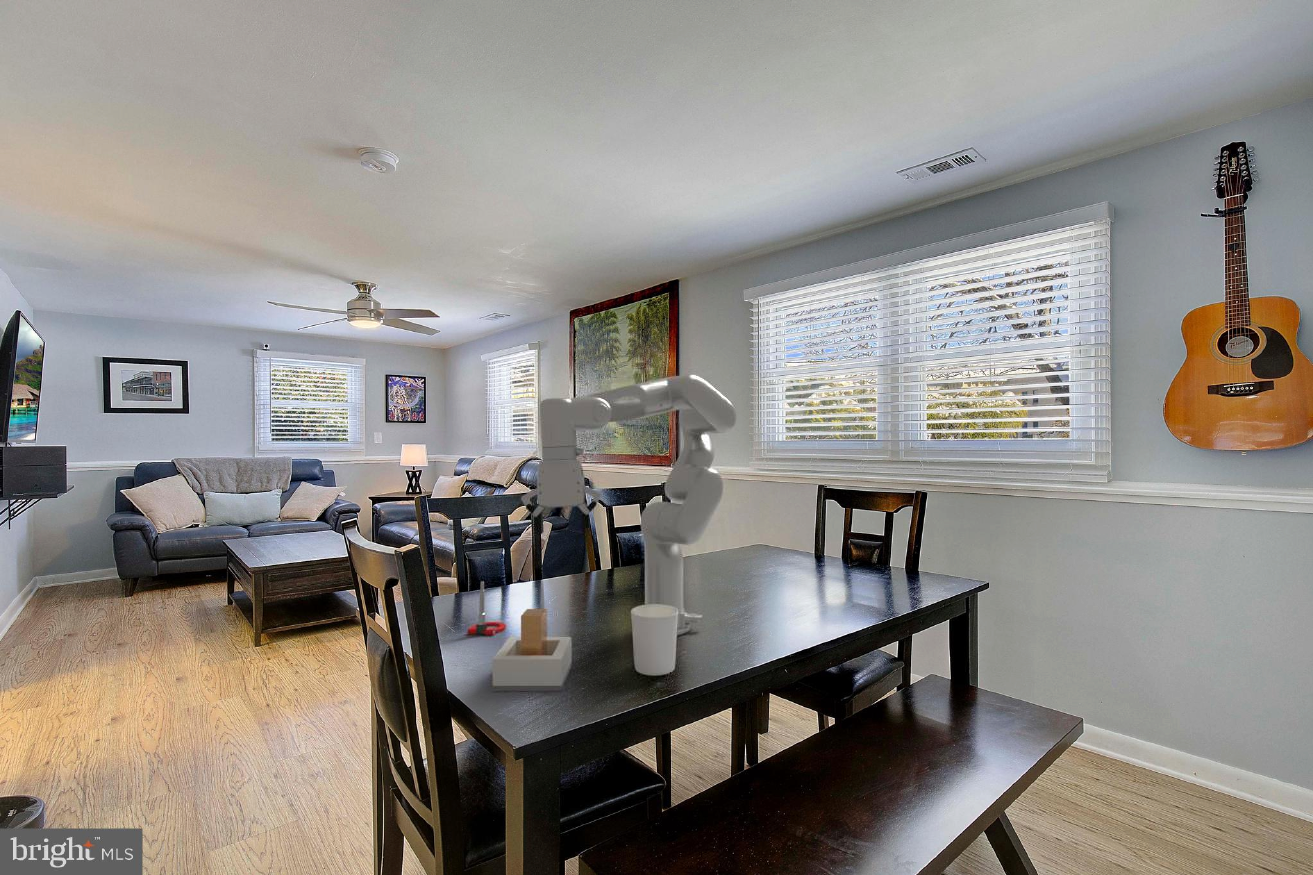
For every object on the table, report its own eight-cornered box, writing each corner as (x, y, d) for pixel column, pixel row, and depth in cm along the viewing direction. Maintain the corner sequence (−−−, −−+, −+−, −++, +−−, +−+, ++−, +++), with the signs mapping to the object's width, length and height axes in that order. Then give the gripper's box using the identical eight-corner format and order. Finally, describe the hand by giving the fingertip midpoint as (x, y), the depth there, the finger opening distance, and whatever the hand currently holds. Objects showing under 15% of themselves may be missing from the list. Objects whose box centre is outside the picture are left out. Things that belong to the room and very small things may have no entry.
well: (571, 665, 130) (571, 637, 130) (561, 690, 117) (561, 659, 117) (509, 665, 131) (509, 637, 131) (492, 690, 118) (492, 659, 118)
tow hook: (479, 625, 160) (463, 635, 151) (480, 575, 161) (464, 581, 152) (511, 627, 159) (496, 636, 150) (511, 576, 160) (497, 582, 151)
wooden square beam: (547, 668, 126) (546, 609, 126) (541, 677, 121) (541, 616, 121) (527, 667, 127) (527, 608, 127) (521, 677, 122) (520, 615, 122)
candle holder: (630, 660, 133) (630, 604, 133) (675, 659, 134) (675, 603, 134) (632, 678, 123) (631, 617, 123) (681, 676, 124) (680, 616, 124)
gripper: (600, 452, 140) (603, 528, 140) (523, 455, 139) (526, 531, 140) (597, 454, 132) (601, 534, 133) (516, 457, 132) (519, 537, 132)
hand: (562, 532), depth 136 cm, fingers open, 9 cm apart
